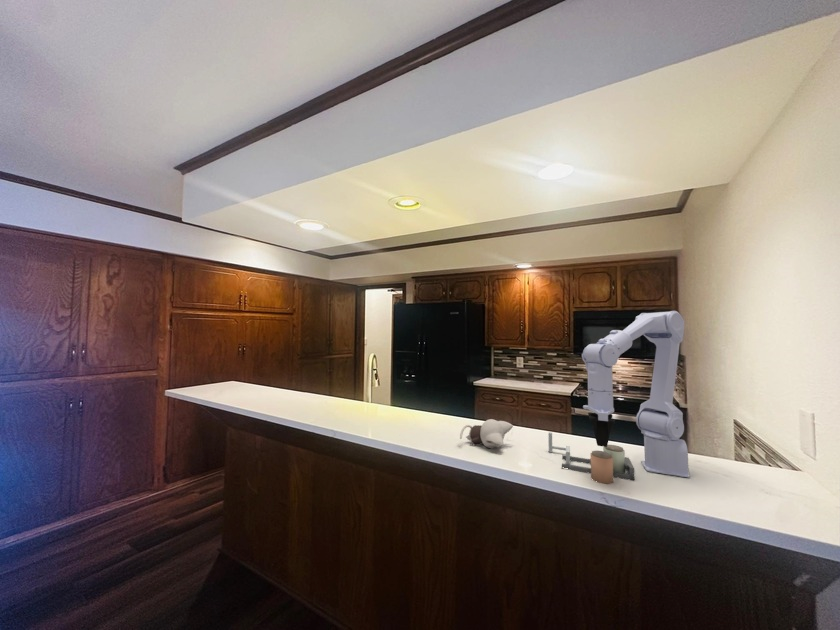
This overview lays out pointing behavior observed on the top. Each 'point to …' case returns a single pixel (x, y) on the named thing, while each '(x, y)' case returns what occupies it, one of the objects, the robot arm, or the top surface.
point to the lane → (628, 468)
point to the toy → (488, 433)
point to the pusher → (559, 448)
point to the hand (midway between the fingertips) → (601, 443)
